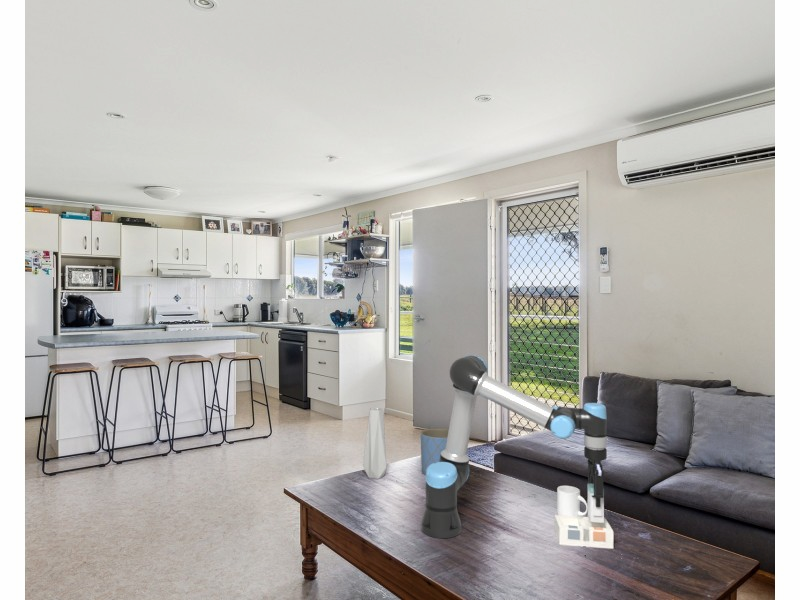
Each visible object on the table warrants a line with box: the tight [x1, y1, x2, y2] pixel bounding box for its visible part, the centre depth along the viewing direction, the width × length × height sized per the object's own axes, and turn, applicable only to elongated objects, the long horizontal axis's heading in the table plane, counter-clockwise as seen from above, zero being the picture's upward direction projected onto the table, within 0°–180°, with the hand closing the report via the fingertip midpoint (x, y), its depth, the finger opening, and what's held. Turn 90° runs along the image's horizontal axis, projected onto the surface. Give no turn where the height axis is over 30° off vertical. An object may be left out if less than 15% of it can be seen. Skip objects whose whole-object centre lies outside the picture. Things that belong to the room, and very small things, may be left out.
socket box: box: [554, 514, 614, 550], centre depth 180 cm, size 18×11×6 cm, turn 82°
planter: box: [420, 427, 449, 477], centre depth 252 cm, size 19×19×20 cm
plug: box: [587, 483, 605, 523], centre depth 180 cm, size 5×5×12 cm
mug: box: [556, 485, 588, 517], centre depth 199 cm, size 9×12×11 cm
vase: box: [362, 407, 387, 480], centre depth 245 cm, size 12×12×33 cm
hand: (595, 512), depth 180 cm, fingers closed on plug, 4 cm apart
